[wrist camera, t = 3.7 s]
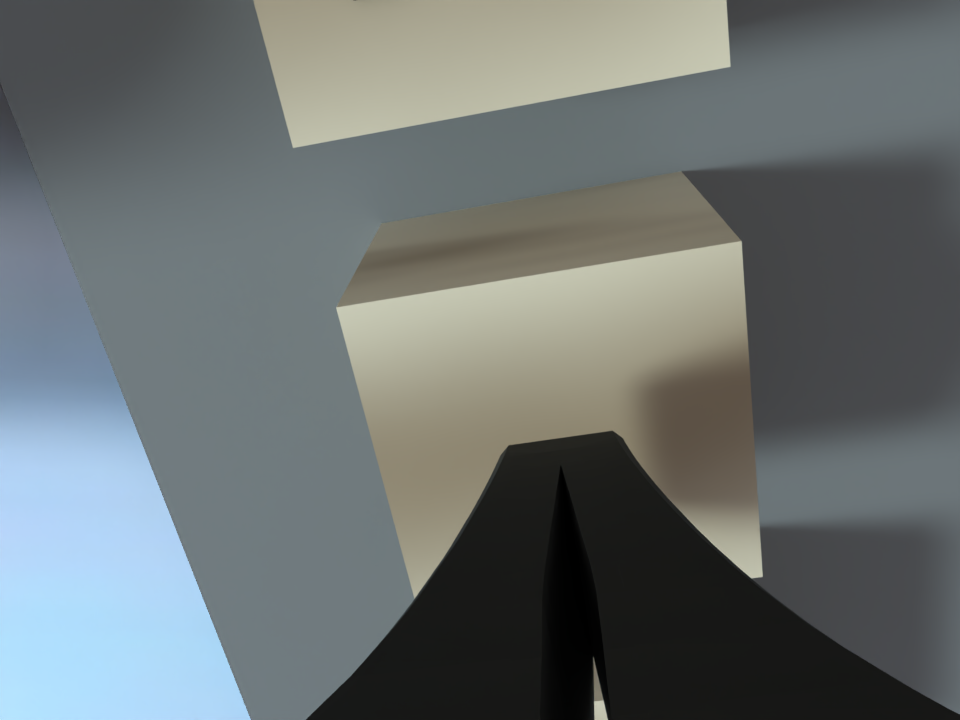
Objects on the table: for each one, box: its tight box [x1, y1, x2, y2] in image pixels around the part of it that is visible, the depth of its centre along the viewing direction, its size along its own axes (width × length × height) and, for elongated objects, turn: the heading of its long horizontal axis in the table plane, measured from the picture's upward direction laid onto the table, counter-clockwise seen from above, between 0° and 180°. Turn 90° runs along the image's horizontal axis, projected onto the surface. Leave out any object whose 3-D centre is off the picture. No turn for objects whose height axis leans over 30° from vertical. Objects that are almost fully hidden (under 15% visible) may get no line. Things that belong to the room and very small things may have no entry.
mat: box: [0, 0, 960, 720], centre depth 15 cm, size 22×16×1 cm
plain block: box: [336, 171, 763, 599], centre depth 13 cm, size 5×5×4 cm
